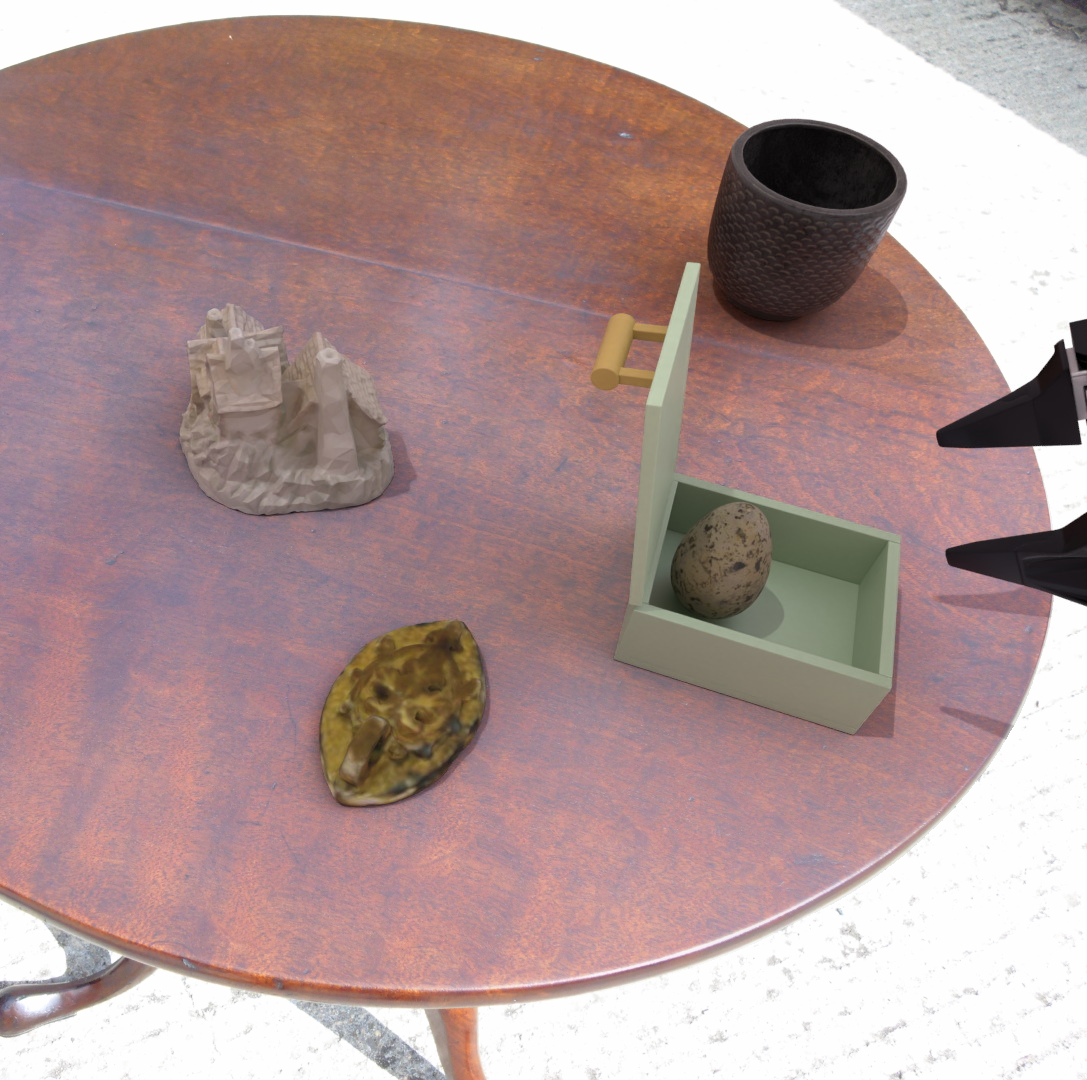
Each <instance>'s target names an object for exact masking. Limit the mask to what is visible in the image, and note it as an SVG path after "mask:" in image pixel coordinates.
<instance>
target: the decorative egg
mask: <svg viewBox="0 0 1087 1080" xmlns="http://www.w3.org/2000/svg"><path fill="white" fill-rule="evenodd" d="M771 562H772V536H771V530H770V526H769V524H768V521H767V519H766V517H765V515H764V514H763V513H762V512H761V511H760V510H759V509H758V508H757V507H755V506H754V505H752V504H749V503H745V502H734V503H729V504H726V505H723V506H721V507H718V508H716V509H715V510H713V511H711V512H710V513H708V514H707V515H706V516H704V517H703V518H702V519H701V520H699V521H698V522H697V523H696V524H695V525H694V526H693V527H692V528H691V529H690V530H689V531H688V532H687V534H686V535H685V536H684V538H683V539H682V540H681V542H680V544H679V545H678V547H677V549H676V552H675V554H674V557H673V560H672V564H671V584H672V588H673V590H674V593H675V595H676V597H677V598H678V600H679V601H680V603H681V604H682V605H683V606H684V607H685V608H686V609H687V610H689V611H690V612H692V613H693V614H695V615H697V616H700V617H703V618H707V619H726V618H730V617H733V616H735V615H737V614H739V613H741V612H743V611H744V610H746V609H747V608H748V607H750V606H751V605H752V604H753V603H754V601H755V600H756V599H757V598H758V597H759V595H760V593H761V592H762V590H763V588H764V586H765V584H766V581H767V579H768V576H769V572H770V567H771Z"/></svg>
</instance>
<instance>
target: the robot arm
mask: <svg viewBox="0 0 1087 1080" xmlns="http://www.w3.org/2000/svg"><path fill="white" fill-rule="evenodd" d="M1068 325H1069V326H1068V327H1069V332H1070V338H1071V344H1072V345H1071V346H1072V347H1068V348H1066V344H1065V339H1064V338H1061V339H1059V340H1058V341H1057V342H1056V343H1055V344H1053V349H1054V352H1053V354H1052V355H1051V357H1050V358H1049V359H1048V361H1047V362H1046V363H1045V365H1044V366H1043V367H1042V368H1041V370H1040V371H1038V374H1037V375H1036V376H1035V377H1034V378H1032V379H1031V380H1029V381H1028V382H1026V383H1025V384H1023V385H1021V386H1020V387H1018V388H1016V389H1014V390H1013V391H1011V392H1009V393H1008V394H1005V395H1004V396H1001V397H999V398H998V399H996V400H994V401H992V402H990V403H988V404H986V405H984V406H982V407H980V408H978V409H977V410H974V411H972V412H971V413H969V414H966V415H964V416H963V417H961V418H959V419H957V420H954V421H952V422H951V423H949V424H947V425H945V426H943V427H940V428H939V429H937V430H936V432H935V437H936V441H937V445H938V446H939V447H940V448H949V449H950V448H951V449H997V448H1024V447H1025V448H1027V447H1029V448H1032V447H1063V446H1065V447H1066V446H1081V445H1083V443H1082V436H1081V430H1080V423H1079V422H1080V421H1084V420H1085V424H1086V425H1087V318H1084V319H1079V320H1074V321H1070V322H1069V323H1068ZM944 555H945V560H946V562H947V565H948V566H950V567H952V568H955V569H960V570H963V571H967V572H971V573H975V574H978V575H982V576H986V577H990V578H993V579H997V580H1000V581H1004V582H1009V583H1012V584H1015V585H1019V586H1024V587H1026V588H1031V589H1034V590H1038V591H1041V592H1043V593H1046V594H1049V595H1052V596H1055V597H1059V598H1061V599H1064V600H1066V601H1070V602H1073V603H1075V604H1077V605H1081V606H1083V607H1087V511H1086V512H1084V513H1083V514H1081V515H1080V516H1078V517H1077V518H1075V519H1073V520H1072V521H1070V522H1069V523H1068V524H1065V526H1062V527H1060V528H1057V529H1051V530H1045V531H1044V530H1043V531H1039V532H1038V531H1037V532H1030V533H1025V534H1017V535H1010V536H1004V537H998V538H989V539H984V540H977V541H976V540H975V541H971V542H968V543H963V544H960V545H955V546H950V547H948V548H946V549H945V551H944Z"/></svg>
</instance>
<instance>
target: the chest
mask: <svg viewBox="0 0 1087 1080" xmlns="http://www.w3.org/2000/svg"><path fill="white" fill-rule="evenodd" d="M734 502H745V503H749V504H752V505H754V506H755V507H757V508H758V509H759V510H760V511H761V512H762V513H763V514H764V515H765V517H766V519H767V521H768V524H769V526H770V530H771V536H772V562H771V567H770V572H769V576H768V579H767V581H766V584H765V586H764V588H763V590H762V592H761V593H760V595H759V597H758V598H757V599H756V600H755V601H754V603H753V604H752V605H751V606H750V607H748V608H747V609H746V610H744V611H743V612H741V613H739V614H737V615H735V616H733V617H730V618H726V619H707V618H703V617H700V616H697V615H695V614H693V613H692V612H690V611H689V610H687V609H686V608H685V607H684V606H683V605H682V604H681V603H680V601H679V600H678V598H677V597H676V595H675V593H674V590H673V588H672V584H671V564H672V560H673V557H674V554H675V552H676V549H677V547H678V545H679V544H680V542H681V540H682V539H683V538H684V536H685V535H686V534H687V532H688V531H689V530H690V529H691V528H692V527H693V526H694V525H695V524H696V523H697V522H698V521H699V520H701V519H702V518H703V517H704V516H706V515H707V514H708V513H710V512H711V511H713V510H715V509H716V508H718V507H721V506H723V505H726V504H729V503H734ZM901 547H902V535H901V534H898V533H894V532H890V531H887V530H884V529H880V528H876V527H873V526H869V525H865V524H862V523H859V522H855V521H852V520H848V519H844V518H840V517H836V516H833V515H830V514H827V513H826V514H825V513H822V512H819V511H815V510H812V509H807V508H804V507H800V506H797V505H794V504H790V503H787V502H783V501H779V500H776V499H772V498H769V497H765V496H761V495H757V494H754V493H750V492H748V491H744V490H740V489H736V488H733V487H729V486H726V485H722V484H719V483H715V482H712V481H708V480H704V479H701V478H698V477H693V476H690V475H687V474H683V473H680V472H676V471H675V474H674V478H673V482H672V486H671V490H670V494H669V498H668V502H667V506H666V510H665V514H664V518H663V522H662V526H661V530H660V534H659V538H658V542H657V546H656V550H655V554H654V558H653V562H652V566H651V571H650V575H649V579H648V583H647V587H646V591H645V595H644V599H643V603H642V606H637V605H631V604H629V600H628V601H627V605H626V609H625V613H624V617H623V620H622V625H621V628H620V631H619V636H618V640H617V644H616V647H615V652H614V655H613V660H615V661H617V662H621V663H624V664H627V665H631V666H633V667H637V668H640V669H643V670H646V671H649V672H653V673H656V674H659V675H662V676H666V677H668V678H671V679H675V680H677V681H681V682H684V683H688V684H690V685H694V686H698V687H700V688H703V689H706V690H710V691H713V692H716V693H719V694H722V695H726V696H729V697H732V698H735V699H738V700H741V701H744V702H747V703H751V704H754V705H757V706H760V707H764V708H767V709H769V710H773V711H776V712H778V713H783V714H786V715H789V716H792V717H795V718H798V719H802V720H804V721H807V722H810V723H813V724H817V725H821V726H823V727H827V728H830V729H832V730H835V731H838V732H843V733H845V734H849V735H852V736H855V734H856V733H857V732H858V731H859V730H860V728H861V727H862V725H863V724H864V723H865V722H867V720H868V718H870V716H871V715H872V714H873V712H874V711H875V710H876V709H877V707H878V706H880V704H881V702H882V701H883V700H884V699H885V698H886V696H887V695H888V694H889V693H890V691H891V690H892V687H893V677H894V676H893V675H894V662H895V661H894V660H895V646H896V645H895V644H896V630H897V629H896V628H897V612H898V596H899V595H898V594H899V581H900V580H899V579H900V564H901V549H902V548H901Z"/></svg>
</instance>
